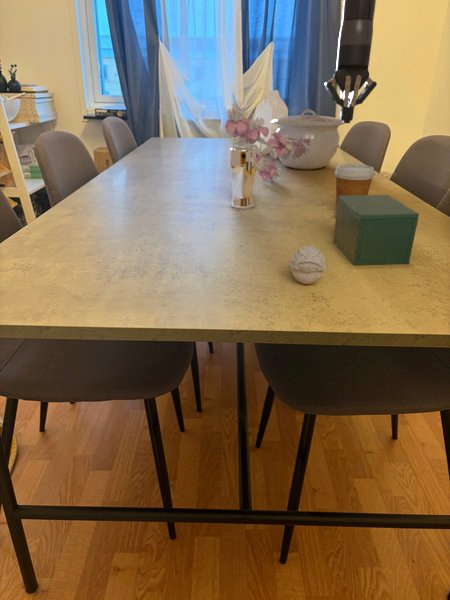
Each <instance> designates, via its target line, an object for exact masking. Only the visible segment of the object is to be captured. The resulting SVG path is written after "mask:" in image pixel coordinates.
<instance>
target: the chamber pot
mask: <svg viewBox="0 0 450 600" xmlns="http://www.w3.org/2000/svg"><path fill="white" fill-rule="evenodd" d="M307 113H310V114H307ZM271 122H272V123H274V124H276V125H277V131H276V132H279V133H280V134H281V136H283V135H288V136H287V137H286V139H289V140H292V143H291V144H292V145H291V147H292V149H291V150H287V152H288V153H286V154H284V155H283V156H282V157H281V158H280V157H278V160H279V161H280V162H281V164H282V165H283V166H285V167H287V168H289V169H294V170H302V171H303V170H304V171H311V170H318V169H321V168H324V167H326V166H328V165H329V163H330V162H331V161H332V159H333V158H334V156H335V155H336V154H337V150H338V146H339V142H340V132H339V130H338V128H339V127H340V126H341V125H345V123H342V121H341V120H340V118H337V117H333V116H327V115H320V114H317V113H316V112H315V111H314V110H312V109H310V108H309V109H305V110H303V111H302V112H301V114H296V115H288V116H286V117H281V118H277V119H274V120H272V121H271ZM274 139H275V137H274ZM286 143H289V142H286ZM275 149H276V148H275Z"/></svg>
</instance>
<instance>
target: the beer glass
mask: <svg viewBox="0 0 450 600" xmlns="http://www.w3.org/2000/svg"><path fill="white" fill-rule="evenodd" d="M229 153H230V154H229V174H230V175H229V176H230V182H231V189H232V197H231V202H230V203H231V204H230V205H231V207H232V208H235V209H250V208H252V207H254V200H253V188H254V183H255V179H256V171H257V170H256V167H257V165H256V160H257V159H256V148H254V147H240V146H234V147H233V146H232V147H230V152H229Z"/></svg>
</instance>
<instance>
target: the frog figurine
mask: <svg viewBox="0 0 450 600" xmlns="http://www.w3.org/2000/svg"><path fill="white" fill-rule="evenodd" d="M324 256H325V255H324V254H323V253H322V250H321V249H317V248H316V247H315V246H314V245H304V246H302V248H298V249H297V250H296V251H294V253H293V255H292V258H291V260H290V261H289V263H288V265H289V268H290V271H291V273H292V276H293V278H294V279H295V280H296V281H297V282H298V283H300V284H302V285H312V284H314V283H316V282H318V280H319V279H320V278H322V275H323V273H324V272H325V270H326V269H327V263H326V259H325V257H324Z"/></svg>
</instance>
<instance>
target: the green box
mask: <svg viewBox="0 0 450 600" xmlns="http://www.w3.org/2000/svg"><path fill="white" fill-rule="evenodd" d="M418 222H419V217H418V218H405V219H359V218H358V217H357V216H356V215H355V214H354V213H352V212H351V211H350V210H349V209H348V208H347V207H345V206H344V205H343V204H342V203H341V202H340V201H338V205H337V213H336V212H335V223H334V229H333V230H334V232H333V238H332V241H333V243H334V245H336V246H337V248H338V249H339V250H340V252H342V254H343V255H344V256H345V257H346V258H347V260H348V261H349V262H350V263H351V264H352V265H353V266H384V265H385V266H387V265H409V264H410V260H411V255H412V250H413V245H414V242H415V236H416V231H417V227H418Z"/></svg>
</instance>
